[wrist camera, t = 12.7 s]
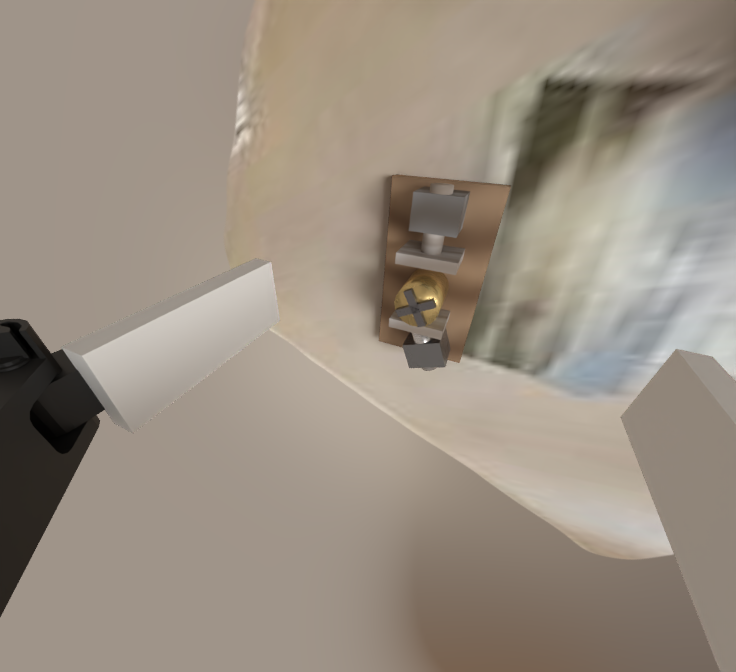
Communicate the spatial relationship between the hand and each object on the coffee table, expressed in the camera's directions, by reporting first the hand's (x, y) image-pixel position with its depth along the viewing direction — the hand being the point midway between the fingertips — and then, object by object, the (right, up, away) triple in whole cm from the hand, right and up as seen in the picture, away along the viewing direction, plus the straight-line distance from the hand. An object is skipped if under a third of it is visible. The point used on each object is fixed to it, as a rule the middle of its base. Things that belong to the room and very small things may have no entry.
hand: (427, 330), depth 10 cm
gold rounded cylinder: (+5, +6, +26) cm, 27 cm away
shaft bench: (+6, +7, +27) cm, 28 cm away
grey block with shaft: (+6, 0, +30) cm, 30 cm away
